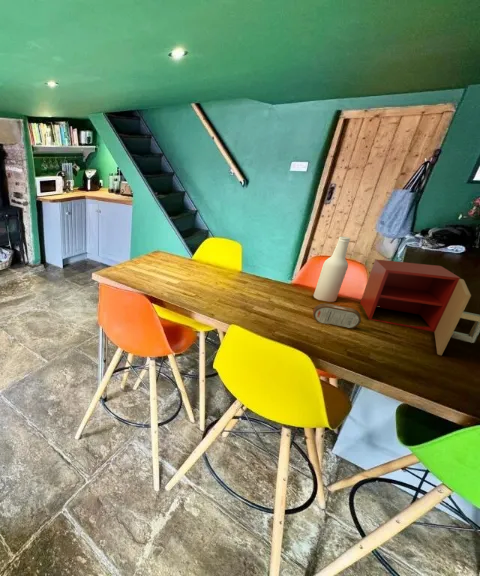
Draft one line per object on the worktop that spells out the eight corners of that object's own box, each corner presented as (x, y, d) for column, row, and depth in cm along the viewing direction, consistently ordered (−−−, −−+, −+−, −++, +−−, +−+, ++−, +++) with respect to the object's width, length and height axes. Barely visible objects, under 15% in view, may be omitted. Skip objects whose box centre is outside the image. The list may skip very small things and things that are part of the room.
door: (459, 338, 109) (487, 283, 101) (466, 362, 96) (499, 300, 88) (434, 332, 114) (459, 278, 106) (437, 354, 100) (466, 294, 92)
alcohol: (310, 299, 143) (330, 237, 132) (315, 294, 148) (335, 234, 137) (332, 305, 137) (355, 240, 125) (337, 300, 142) (359, 237, 131)
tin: (355, 329, 117) (363, 309, 114) (357, 332, 115) (365, 312, 111) (310, 319, 124) (316, 300, 121) (310, 322, 122) (316, 303, 118)
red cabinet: (435, 332, 114) (460, 278, 106) (367, 320, 123) (386, 269, 115) (419, 315, 127) (440, 265, 119) (359, 306, 136) (375, 259, 128)
